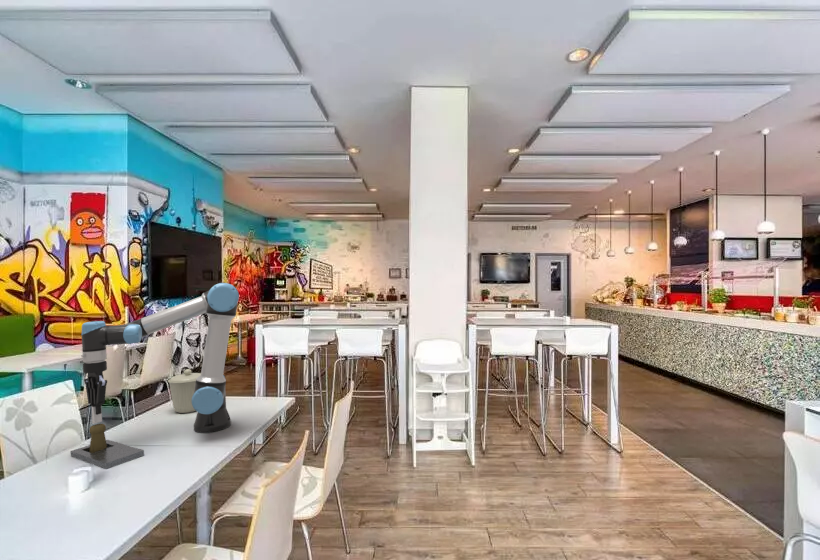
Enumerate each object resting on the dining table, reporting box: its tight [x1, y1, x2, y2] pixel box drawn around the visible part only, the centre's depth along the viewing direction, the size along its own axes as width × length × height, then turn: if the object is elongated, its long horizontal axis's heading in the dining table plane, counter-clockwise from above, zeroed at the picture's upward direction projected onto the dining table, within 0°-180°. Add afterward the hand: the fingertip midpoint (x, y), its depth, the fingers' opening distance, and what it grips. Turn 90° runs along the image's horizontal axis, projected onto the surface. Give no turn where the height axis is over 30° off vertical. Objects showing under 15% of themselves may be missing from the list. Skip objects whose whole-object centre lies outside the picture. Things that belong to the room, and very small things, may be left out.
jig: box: [70, 439, 145, 470], centre depth 165 cm, size 26×13×2 cm, turn 60°
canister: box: [167, 368, 201, 414], centre depth 223 cm, size 18×18×21 cm
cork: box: [89, 423, 107, 453], centre depth 169 cm, size 6×6×11 cm
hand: (97, 422), depth 169 cm, fingers closed
